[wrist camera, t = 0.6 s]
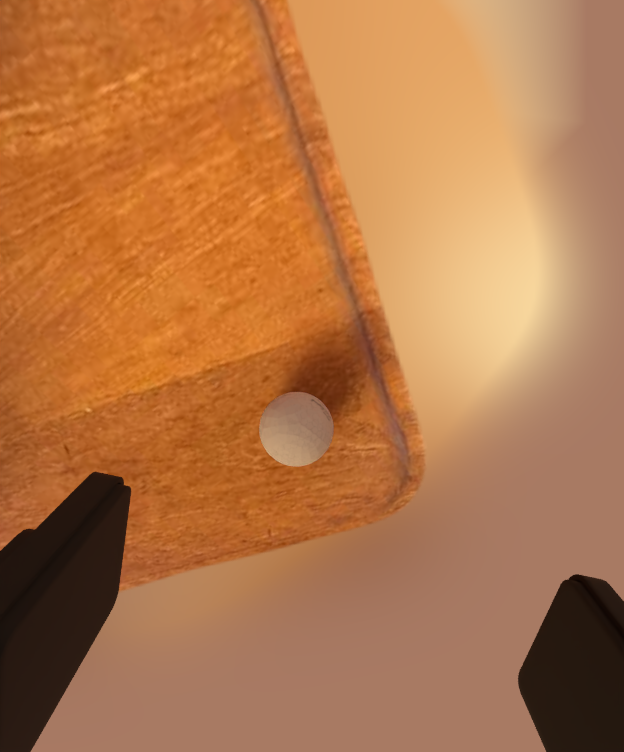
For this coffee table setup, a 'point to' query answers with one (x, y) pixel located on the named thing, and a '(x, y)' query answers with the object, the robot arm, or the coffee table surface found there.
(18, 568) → the robot arm
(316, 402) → the golf ball
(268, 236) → the coffee table surface
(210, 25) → the coffee table surface
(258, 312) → the coffee table surface
